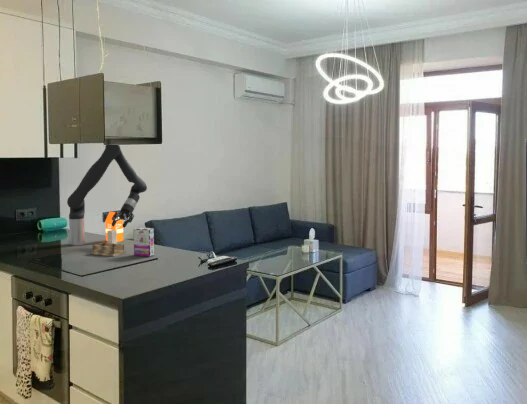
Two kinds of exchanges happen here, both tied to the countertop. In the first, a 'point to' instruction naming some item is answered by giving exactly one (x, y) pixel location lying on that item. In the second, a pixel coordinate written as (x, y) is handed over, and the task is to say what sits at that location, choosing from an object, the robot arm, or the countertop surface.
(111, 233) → the clay bar
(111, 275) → the countertop surface
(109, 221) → the orange juice
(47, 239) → the countertop surface
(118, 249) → the brown woven basket
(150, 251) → the candy bar box
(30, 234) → the countertop surface
